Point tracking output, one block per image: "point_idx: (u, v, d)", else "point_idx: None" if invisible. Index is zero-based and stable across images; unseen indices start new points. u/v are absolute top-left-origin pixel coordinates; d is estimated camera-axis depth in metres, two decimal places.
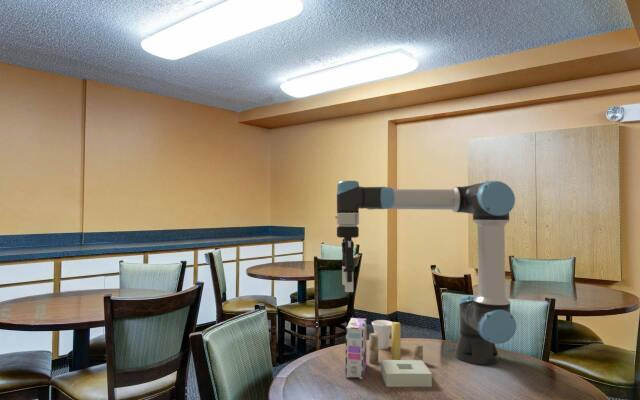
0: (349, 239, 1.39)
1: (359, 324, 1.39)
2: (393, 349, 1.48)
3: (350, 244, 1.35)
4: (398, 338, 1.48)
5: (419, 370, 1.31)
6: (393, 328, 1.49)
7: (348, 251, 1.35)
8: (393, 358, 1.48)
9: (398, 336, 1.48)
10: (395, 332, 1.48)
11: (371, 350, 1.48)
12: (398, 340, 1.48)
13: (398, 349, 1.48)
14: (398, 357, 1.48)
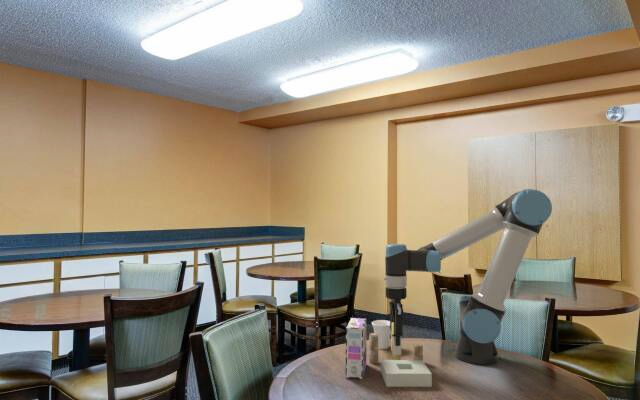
0: (398, 301, 1.46)
1: (359, 324, 1.39)
2: None
3: (400, 312, 1.44)
4: None
5: (419, 370, 1.31)
6: (393, 328, 1.49)
7: (397, 318, 1.44)
8: (393, 358, 1.48)
9: None
10: None
11: (371, 350, 1.48)
12: None
13: None
14: (398, 357, 1.48)
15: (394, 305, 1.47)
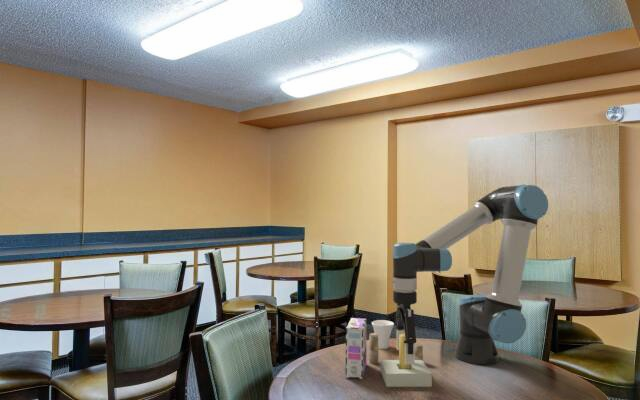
0: (408, 306, 1.31)
1: (359, 324, 1.39)
2: (401, 364, 1.33)
3: (410, 313, 1.28)
4: None
5: (419, 370, 1.31)
6: (401, 341, 1.34)
7: (408, 321, 1.28)
8: None
9: None
10: (404, 345, 1.33)
11: (371, 350, 1.48)
12: None
13: (407, 364, 1.33)
14: None
15: (403, 311, 1.32)
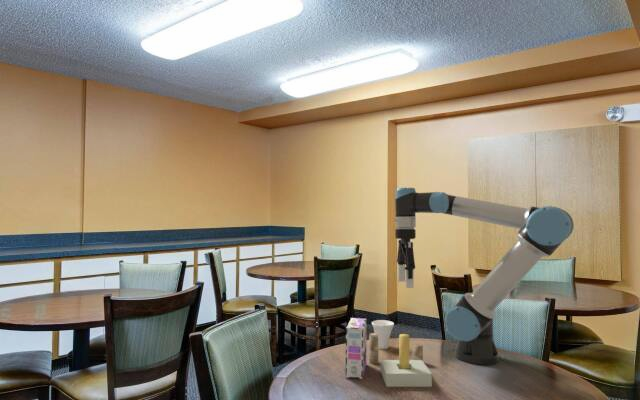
0: (408, 240, 1.54)
1: (359, 324, 1.39)
2: (401, 364, 1.33)
3: (410, 245, 1.51)
4: (407, 352, 1.33)
5: (419, 370, 1.31)
6: (401, 341, 1.34)
7: (408, 251, 1.50)
8: None
9: (407, 350, 1.33)
10: (404, 345, 1.33)
11: (371, 350, 1.48)
12: (407, 354, 1.33)
13: (407, 364, 1.33)
14: None
15: (404, 244, 1.55)
